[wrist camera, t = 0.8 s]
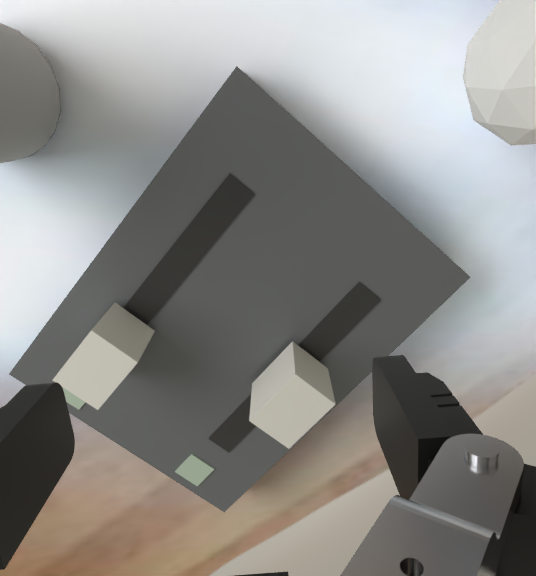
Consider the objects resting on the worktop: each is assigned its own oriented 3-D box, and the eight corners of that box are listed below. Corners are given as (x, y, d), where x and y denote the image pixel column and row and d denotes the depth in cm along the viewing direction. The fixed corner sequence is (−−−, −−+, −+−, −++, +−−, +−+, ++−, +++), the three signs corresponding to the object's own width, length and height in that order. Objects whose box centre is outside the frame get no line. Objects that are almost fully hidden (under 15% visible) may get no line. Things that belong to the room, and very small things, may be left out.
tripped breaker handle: (292, 341, 30) (295, 374, 26) (328, 368, 30) (335, 404, 27) (252, 383, 31) (249, 420, 27) (287, 408, 32) (289, 448, 28)
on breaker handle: (114, 302, 29) (91, 330, 25) (154, 331, 30) (137, 362, 26) (79, 346, 30) (52, 380, 26) (119, 373, 31) (97, 410, 27)
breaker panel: (240, 71, 28) (236, 66, 25) (452, 262, 31) (471, 277, 29) (31, 352, 34) (8, 374, 31) (227, 482, 38) (224, 513, 35)
